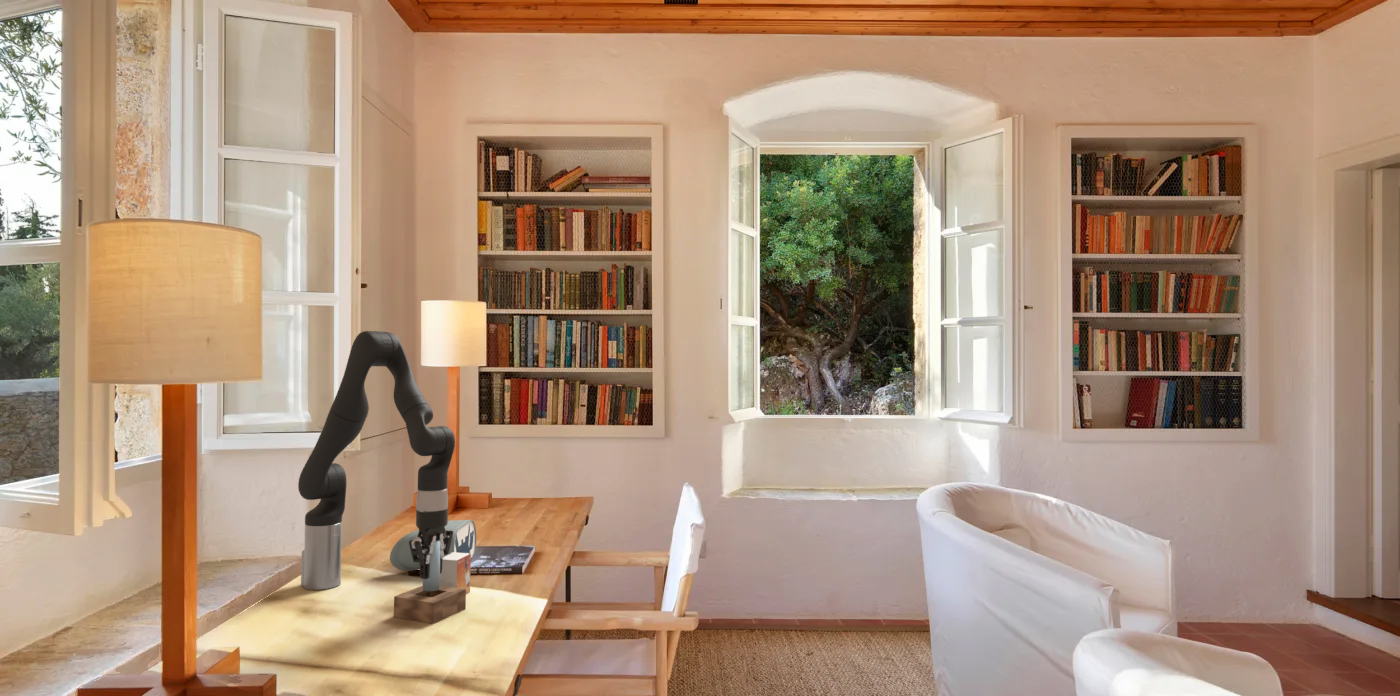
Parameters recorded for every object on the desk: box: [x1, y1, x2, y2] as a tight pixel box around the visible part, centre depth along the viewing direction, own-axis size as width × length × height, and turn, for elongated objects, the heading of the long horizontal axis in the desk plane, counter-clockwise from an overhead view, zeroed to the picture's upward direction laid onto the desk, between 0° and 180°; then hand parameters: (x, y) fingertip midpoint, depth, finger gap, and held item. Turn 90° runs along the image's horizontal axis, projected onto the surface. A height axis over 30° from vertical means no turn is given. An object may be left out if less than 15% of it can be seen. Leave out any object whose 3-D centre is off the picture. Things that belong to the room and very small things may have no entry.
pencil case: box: [389, 519, 477, 572], centre depth 242 cm, size 22×19×13 cm
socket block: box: [393, 585, 467, 625], centre depth 199 cm, size 12×12×5 cm
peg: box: [422, 540, 440, 591], centre depth 199 cm, size 4×4×12 cm
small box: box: [440, 552, 472, 595], centre depth 213 cm, size 8×6×10 cm
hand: (431, 575), depth 199 cm, fingers closed on peg, 4 cm apart
